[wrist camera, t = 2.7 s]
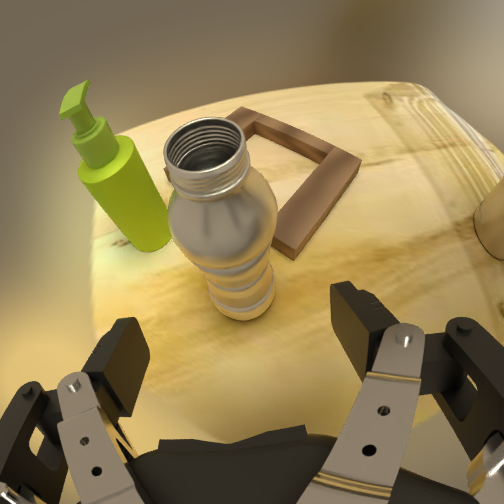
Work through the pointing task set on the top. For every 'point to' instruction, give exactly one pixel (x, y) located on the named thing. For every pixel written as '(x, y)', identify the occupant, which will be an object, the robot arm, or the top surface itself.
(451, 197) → the top surface
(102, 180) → the soap dispenser
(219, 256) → the plastic bottle
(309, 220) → the brown wooden picture frame
